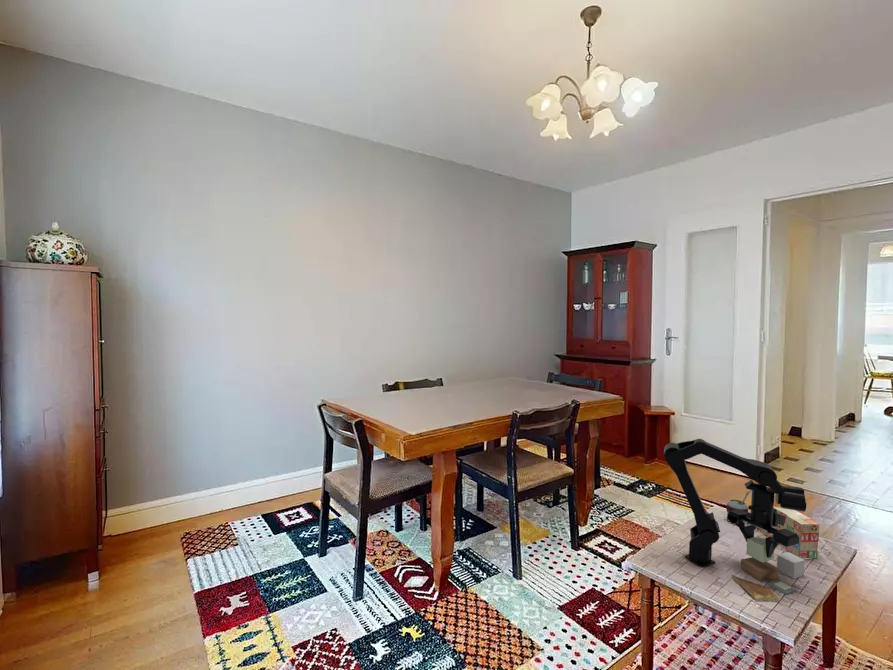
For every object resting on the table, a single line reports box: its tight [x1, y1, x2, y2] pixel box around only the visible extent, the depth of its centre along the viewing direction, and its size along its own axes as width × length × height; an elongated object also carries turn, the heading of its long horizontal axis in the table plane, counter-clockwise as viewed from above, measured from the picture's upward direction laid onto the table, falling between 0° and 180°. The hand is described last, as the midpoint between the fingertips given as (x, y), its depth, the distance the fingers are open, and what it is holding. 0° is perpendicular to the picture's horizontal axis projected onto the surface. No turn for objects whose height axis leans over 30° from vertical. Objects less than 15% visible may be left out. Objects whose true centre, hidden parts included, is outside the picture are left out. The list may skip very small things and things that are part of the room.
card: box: [768, 579, 798, 596], centre depth 132 cm, size 5×5×1 cm
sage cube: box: [746, 535, 775, 562], centre depth 139 cm, size 5×5×5 cm
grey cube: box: [776, 551, 806, 579], centre depth 140 cm, size 5×5×5 cm
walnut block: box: [739, 557, 780, 583], centre depth 139 cm, size 7×7×4 cm
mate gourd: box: [726, 489, 752, 524], centre depth 173 cm, size 8×8×15 cm
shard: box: [731, 574, 779, 602], centre depth 131 cm, size 11×8×2 cm
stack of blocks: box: [755, 505, 820, 559], centre depth 158 cm, size 21×6×12 cm, turn 0°
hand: (759, 552), depth 139 cm, fingers closed on sage cube, 5 cm apart
